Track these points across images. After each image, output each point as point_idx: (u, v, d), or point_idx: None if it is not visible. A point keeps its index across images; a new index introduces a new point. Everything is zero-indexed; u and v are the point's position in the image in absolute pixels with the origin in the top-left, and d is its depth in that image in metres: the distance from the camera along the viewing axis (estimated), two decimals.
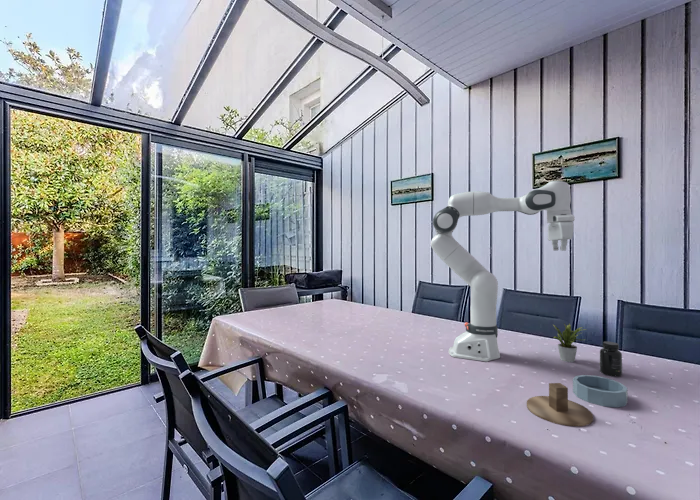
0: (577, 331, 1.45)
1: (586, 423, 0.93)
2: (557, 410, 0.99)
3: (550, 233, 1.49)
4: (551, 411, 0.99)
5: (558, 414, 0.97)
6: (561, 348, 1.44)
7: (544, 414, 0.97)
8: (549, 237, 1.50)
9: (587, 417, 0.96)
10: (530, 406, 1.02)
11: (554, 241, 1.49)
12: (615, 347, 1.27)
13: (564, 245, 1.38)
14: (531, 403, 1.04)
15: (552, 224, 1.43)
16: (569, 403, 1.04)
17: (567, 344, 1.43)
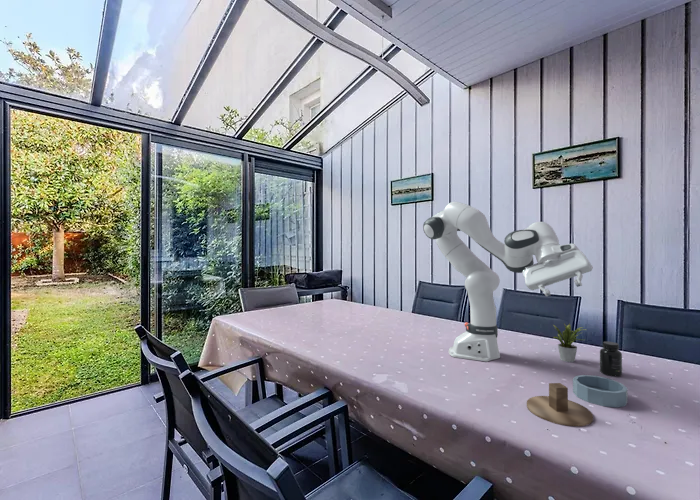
0: (577, 331, 1.45)
1: (586, 423, 0.93)
2: (557, 410, 0.99)
3: (537, 275, 1.16)
4: (551, 411, 0.99)
5: (558, 414, 0.97)
6: (561, 348, 1.44)
7: (544, 414, 0.97)
8: (535, 280, 1.15)
9: (587, 417, 0.96)
10: (530, 406, 1.02)
11: (542, 285, 1.14)
12: (615, 347, 1.27)
13: (580, 279, 1.07)
14: (531, 403, 1.04)
15: (553, 258, 1.14)
16: (569, 402, 1.04)
17: (567, 344, 1.43)
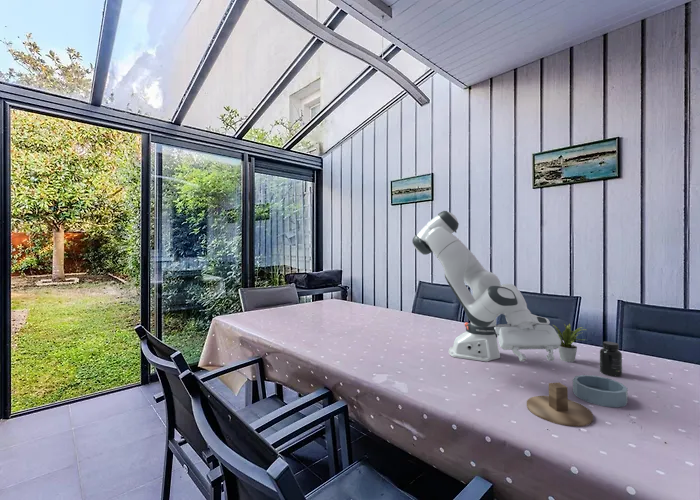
0: (577, 331, 1.45)
1: (586, 422, 0.93)
2: (557, 410, 0.99)
3: (514, 336, 1.14)
4: (551, 411, 0.99)
5: (558, 414, 0.97)
6: (561, 348, 1.44)
7: (544, 414, 0.97)
8: (513, 341, 1.13)
9: (587, 416, 0.96)
10: (530, 406, 1.02)
11: None
12: (615, 347, 1.27)
13: None
14: (531, 404, 1.04)
15: (530, 325, 1.16)
16: (569, 402, 1.04)
17: (567, 344, 1.43)
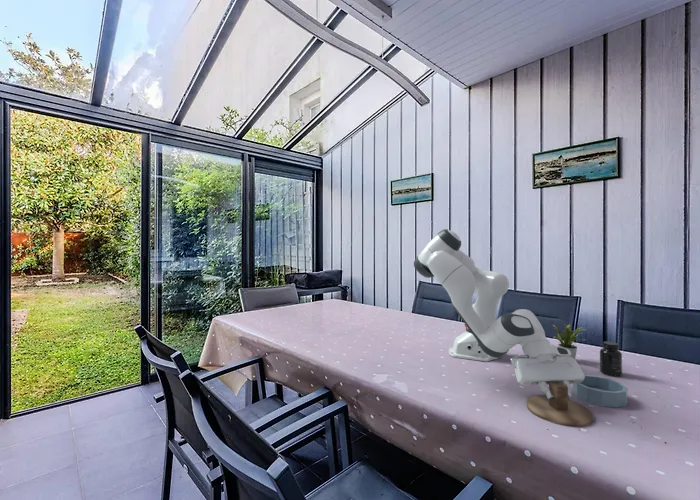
0: (577, 331, 1.45)
1: (586, 422, 0.93)
2: (557, 409, 0.99)
3: (533, 370, 1.04)
4: (551, 410, 0.99)
5: (558, 413, 0.97)
6: None
7: (544, 413, 0.97)
8: (532, 376, 1.03)
9: (587, 416, 0.96)
10: (530, 405, 1.02)
11: None
12: (615, 347, 1.27)
13: None
14: (531, 403, 1.04)
15: (550, 357, 1.06)
16: (569, 401, 1.04)
17: (567, 344, 1.43)
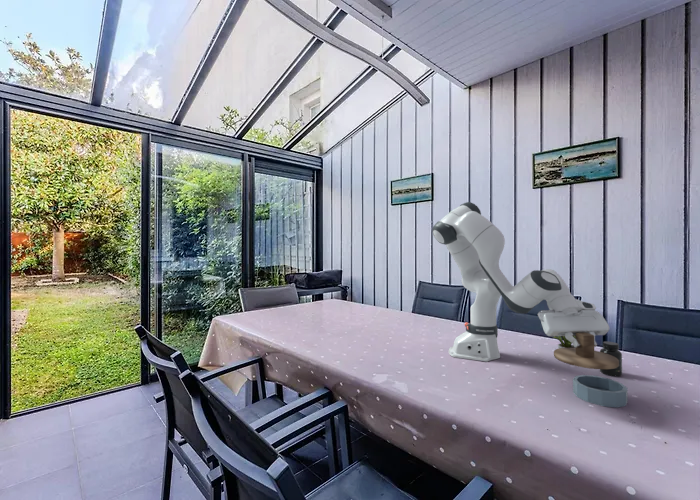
0: None
1: (613, 365, 0.99)
2: (584, 356, 1.05)
3: (560, 322, 1.10)
4: (578, 357, 1.05)
5: (585, 359, 1.03)
6: None
7: (572, 359, 1.03)
8: (560, 327, 1.09)
9: (613, 361, 1.01)
10: (557, 354, 1.08)
11: None
12: (615, 347, 1.27)
13: None
14: (558, 353, 1.10)
15: (576, 311, 1.12)
16: (595, 352, 1.10)
17: (567, 344, 1.43)
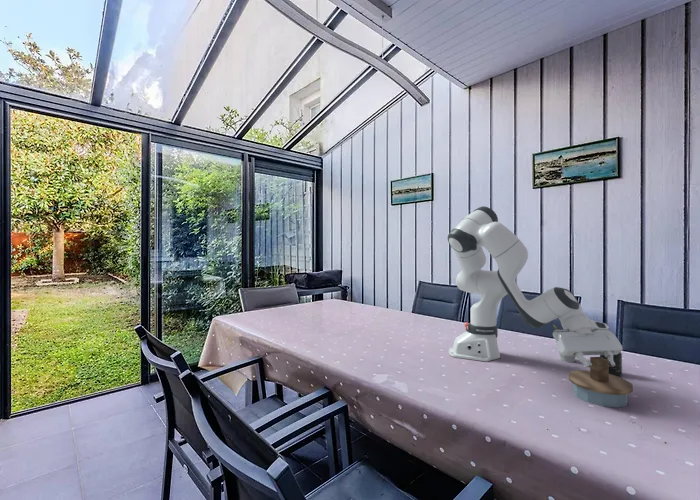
0: None
1: (628, 391, 1.02)
2: (599, 381, 1.08)
3: (575, 342, 1.13)
4: (593, 381, 1.08)
5: (600, 384, 1.06)
6: None
7: (587, 384, 1.06)
8: (575, 347, 1.12)
9: (628, 386, 1.05)
10: (572, 378, 1.12)
11: None
12: None
13: None
14: (573, 376, 1.13)
15: (590, 331, 1.15)
16: (608, 375, 1.13)
17: None
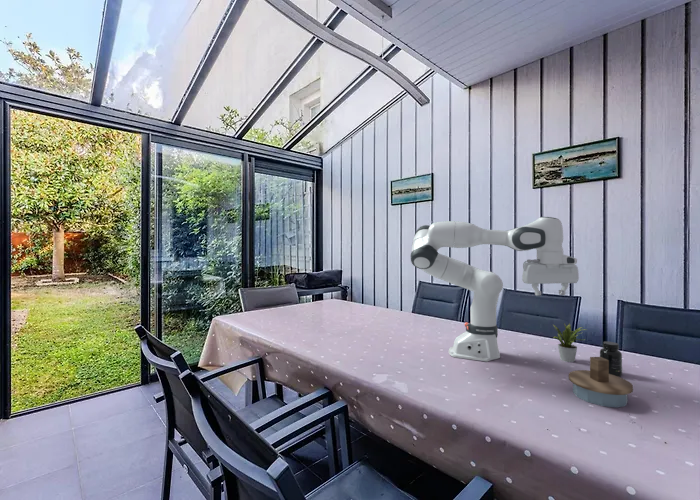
0: (577, 331, 1.45)
1: (628, 391, 1.02)
2: (599, 381, 1.08)
3: (538, 275, 1.26)
4: (593, 381, 1.08)
5: (600, 384, 1.06)
6: (561, 348, 1.44)
7: (587, 384, 1.06)
8: (536, 280, 1.26)
9: (628, 386, 1.05)
10: (572, 378, 1.12)
11: None
12: (615, 347, 1.27)
13: None
14: (573, 376, 1.13)
15: (557, 266, 1.25)
16: (608, 375, 1.13)
17: (567, 344, 1.43)
